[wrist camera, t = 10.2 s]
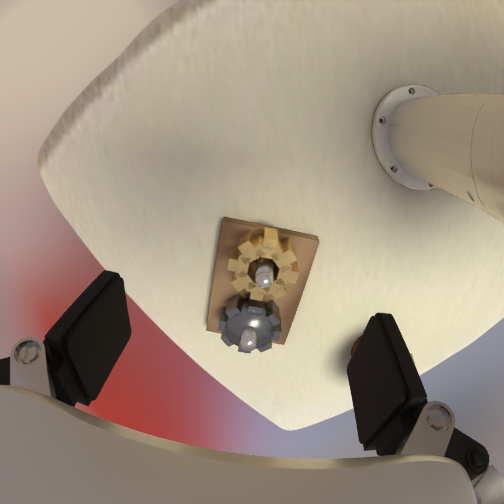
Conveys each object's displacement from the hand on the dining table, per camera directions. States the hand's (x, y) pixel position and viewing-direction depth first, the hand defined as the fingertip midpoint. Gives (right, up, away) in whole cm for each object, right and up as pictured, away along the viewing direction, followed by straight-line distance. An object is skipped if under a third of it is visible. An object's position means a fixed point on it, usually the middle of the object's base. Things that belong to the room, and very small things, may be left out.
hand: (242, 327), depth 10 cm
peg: (+2, +2, +23) cm, 23 cm away
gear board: (+1, -1, +26) cm, 26 cm away
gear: (0, -6, +26) cm, 27 cm away
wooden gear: (+2, +2, +23) cm, 23 cm away
